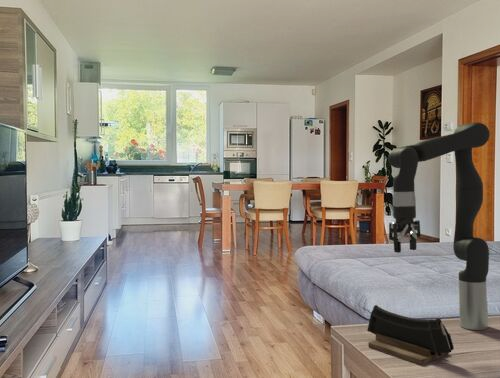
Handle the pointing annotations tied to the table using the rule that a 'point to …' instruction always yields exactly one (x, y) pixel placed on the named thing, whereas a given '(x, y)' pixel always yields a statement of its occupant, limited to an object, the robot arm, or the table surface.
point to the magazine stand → (404, 350)
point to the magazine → (411, 330)
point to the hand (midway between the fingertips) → (405, 251)
